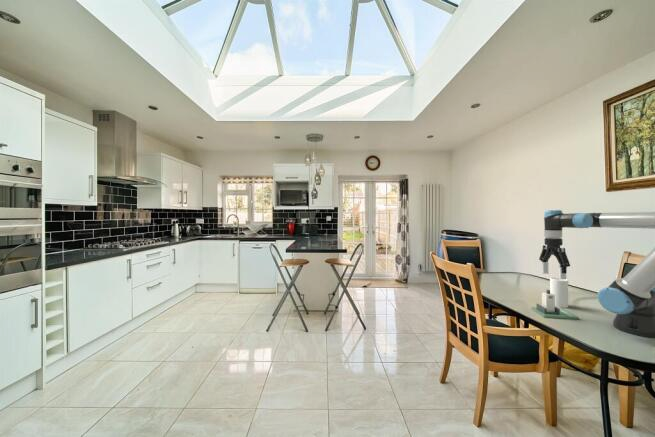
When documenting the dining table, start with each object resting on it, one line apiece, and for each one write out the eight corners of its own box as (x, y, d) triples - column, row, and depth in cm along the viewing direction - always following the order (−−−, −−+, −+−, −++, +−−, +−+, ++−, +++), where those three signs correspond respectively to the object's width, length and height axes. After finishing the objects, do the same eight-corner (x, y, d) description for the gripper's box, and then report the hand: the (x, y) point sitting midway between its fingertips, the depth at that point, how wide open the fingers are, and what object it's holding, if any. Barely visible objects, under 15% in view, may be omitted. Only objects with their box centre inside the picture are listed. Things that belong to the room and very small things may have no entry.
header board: (578, 319, 137) (579, 311, 137) (544, 317, 140) (544, 309, 140) (562, 310, 148) (562, 303, 148) (531, 309, 151) (531, 302, 151)
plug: (546, 312, 143) (546, 291, 143) (541, 309, 147) (542, 288, 147) (554, 313, 142) (554, 291, 142) (549, 310, 146) (550, 289, 146)
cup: (560, 303, 161) (561, 277, 161) (571, 307, 153) (572, 280, 153) (546, 302, 162) (546, 277, 162) (556, 307, 154) (557, 280, 154)
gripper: (579, 239, 131) (579, 281, 131) (545, 236, 156) (546, 271, 156) (562, 240, 132) (562, 281, 132) (531, 236, 157) (532, 271, 157)
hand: (553, 276), depth 144 cm, fingers open, 13 cm apart
